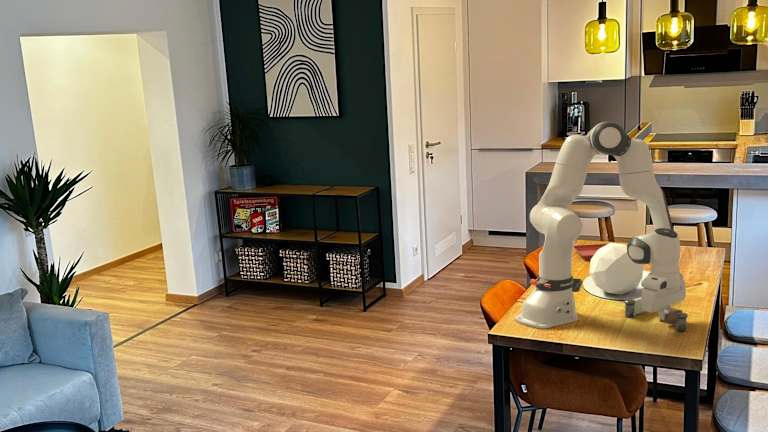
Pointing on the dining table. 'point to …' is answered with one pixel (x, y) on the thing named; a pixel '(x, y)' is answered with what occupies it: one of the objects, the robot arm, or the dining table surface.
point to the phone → (576, 284)
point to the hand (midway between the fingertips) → (663, 318)
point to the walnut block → (671, 317)
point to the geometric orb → (615, 269)
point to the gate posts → (680, 316)
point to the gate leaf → (638, 306)
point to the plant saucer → (588, 250)
